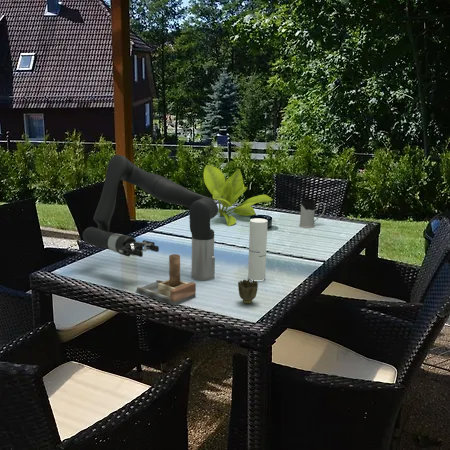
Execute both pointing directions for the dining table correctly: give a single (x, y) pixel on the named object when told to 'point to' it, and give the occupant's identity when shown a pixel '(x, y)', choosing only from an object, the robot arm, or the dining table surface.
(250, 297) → the cup
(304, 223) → the grey mug
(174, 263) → the dowel
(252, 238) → the cylindrical container
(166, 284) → the sliding block
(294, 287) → the dining table surface
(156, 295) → the rail board
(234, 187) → the artificial plant
